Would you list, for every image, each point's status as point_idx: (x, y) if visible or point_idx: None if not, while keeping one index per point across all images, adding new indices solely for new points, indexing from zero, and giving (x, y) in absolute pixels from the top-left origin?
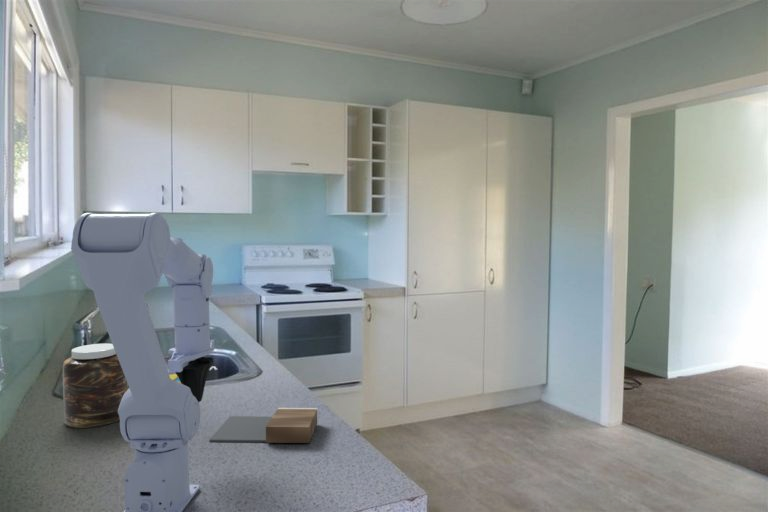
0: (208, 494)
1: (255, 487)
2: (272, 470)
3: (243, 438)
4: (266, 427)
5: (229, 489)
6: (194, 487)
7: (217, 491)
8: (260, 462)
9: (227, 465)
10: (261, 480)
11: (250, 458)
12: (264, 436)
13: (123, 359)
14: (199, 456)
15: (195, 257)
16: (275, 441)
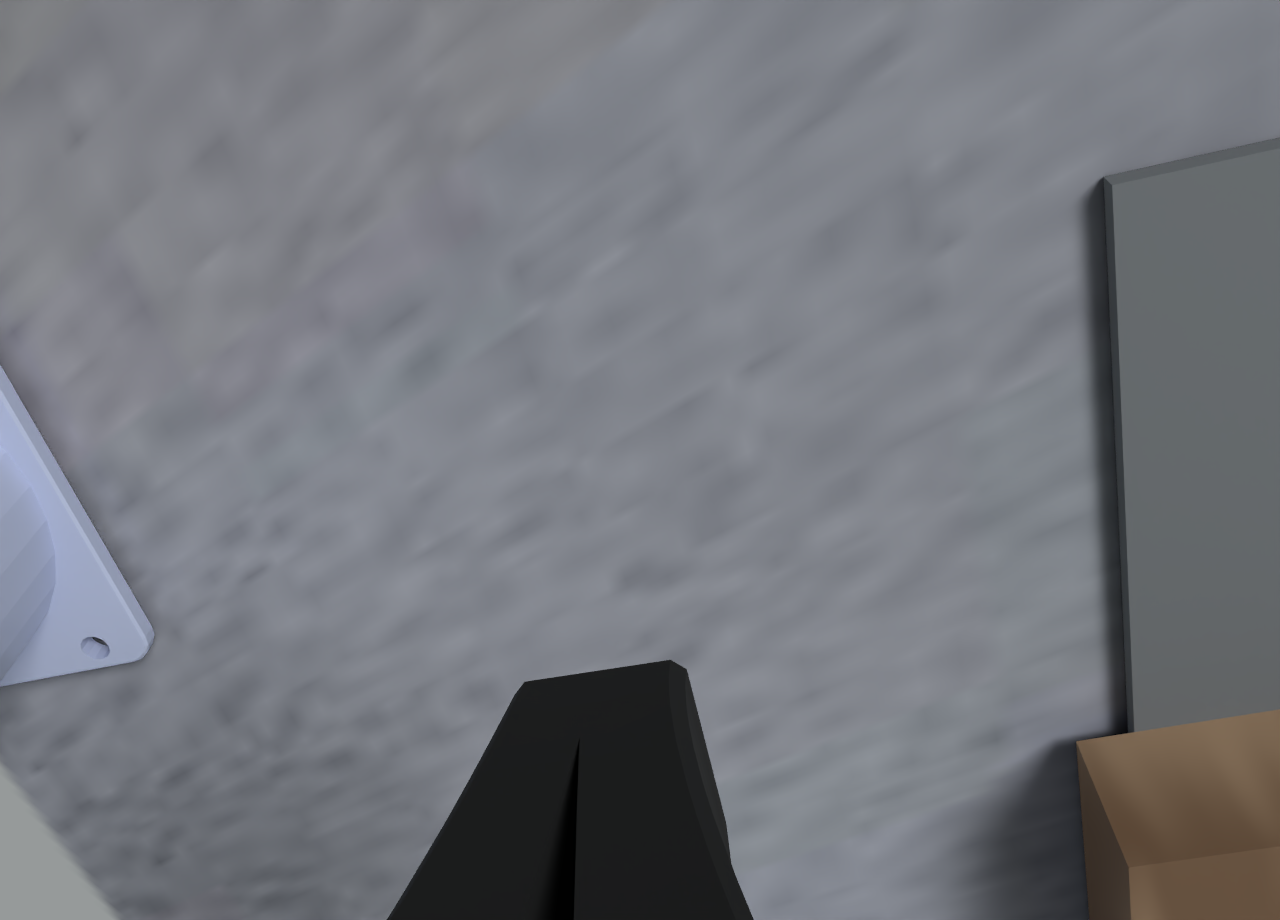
0: (128, 721)
1: (355, 916)
2: None
3: (1164, 526)
4: (1125, 865)
5: (256, 802)
6: (103, 635)
7: (194, 751)
8: None
9: (592, 627)
10: None
11: (768, 724)
12: (1225, 678)
13: None
14: (696, 296)
15: None
16: (1082, 813)
